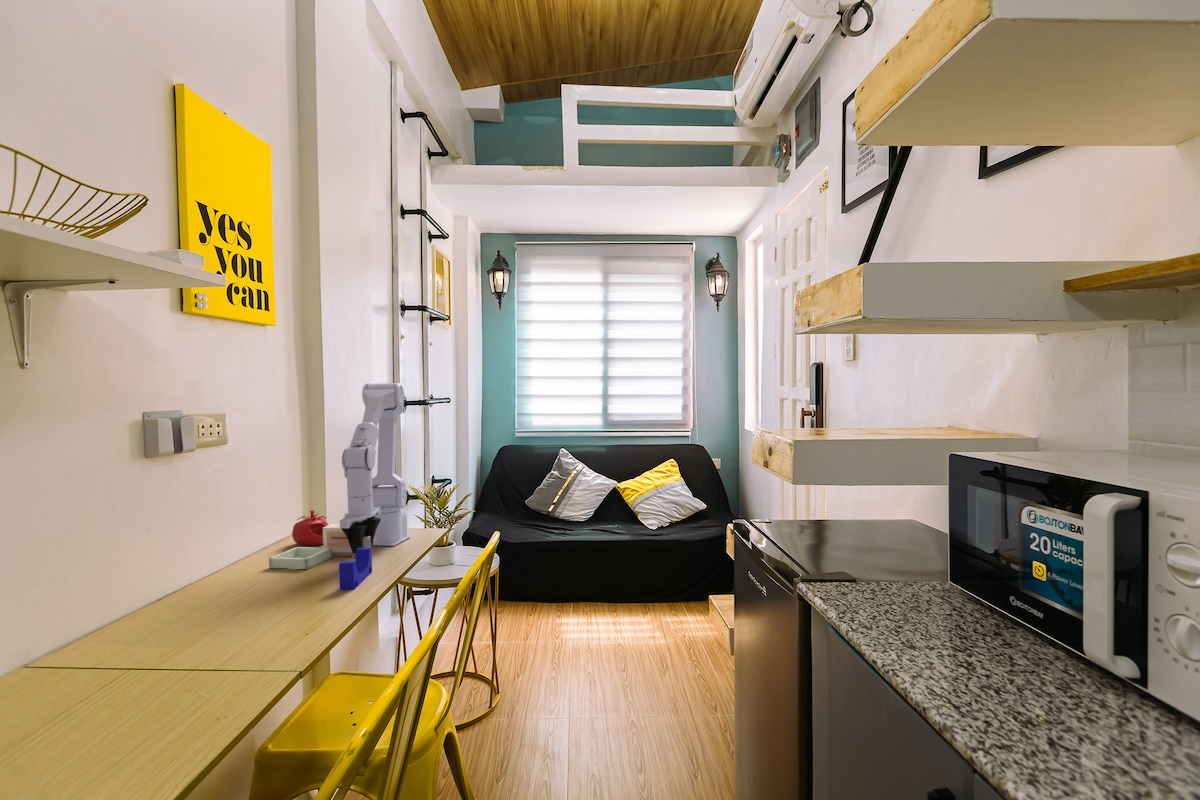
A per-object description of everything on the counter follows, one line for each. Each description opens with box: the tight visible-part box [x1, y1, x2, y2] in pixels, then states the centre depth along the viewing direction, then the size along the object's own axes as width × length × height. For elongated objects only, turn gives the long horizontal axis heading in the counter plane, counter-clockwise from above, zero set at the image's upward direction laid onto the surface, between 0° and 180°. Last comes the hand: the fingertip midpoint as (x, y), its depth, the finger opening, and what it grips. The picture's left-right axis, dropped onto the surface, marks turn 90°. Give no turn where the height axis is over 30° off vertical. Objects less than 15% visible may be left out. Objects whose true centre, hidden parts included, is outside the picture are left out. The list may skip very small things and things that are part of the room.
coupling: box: [353, 534, 371, 560], centre depth 149 cm, size 4×4×5 cm
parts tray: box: [268, 546, 333, 570], centre depth 151 cm, size 10×10×2 cm
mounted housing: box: [322, 523, 373, 557], centre depth 159 cm, size 6×12×7 cm, turn 80°
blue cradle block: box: [338, 547, 373, 591], centre depth 136 cm, size 12×4×6 cm, turn 3°
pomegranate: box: [291, 510, 329, 547], centre depth 169 cm, size 10×10×9 cm
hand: (362, 550), depth 149 cm, fingers closed on coupling, 4 cm apart
